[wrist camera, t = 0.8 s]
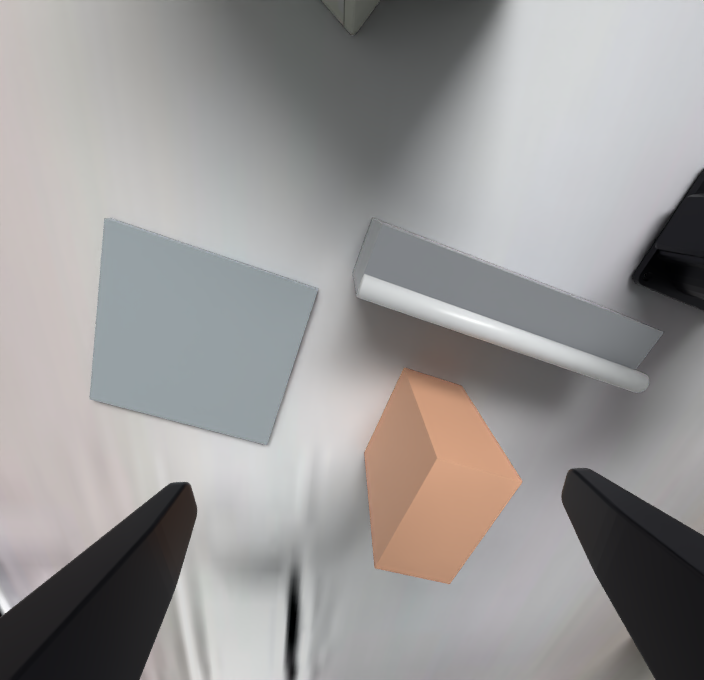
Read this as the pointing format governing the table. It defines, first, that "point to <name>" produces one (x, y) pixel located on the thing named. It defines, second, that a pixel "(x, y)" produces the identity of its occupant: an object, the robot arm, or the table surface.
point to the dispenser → (500, 307)
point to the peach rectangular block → (433, 479)
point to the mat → (194, 333)
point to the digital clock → (351, 12)
